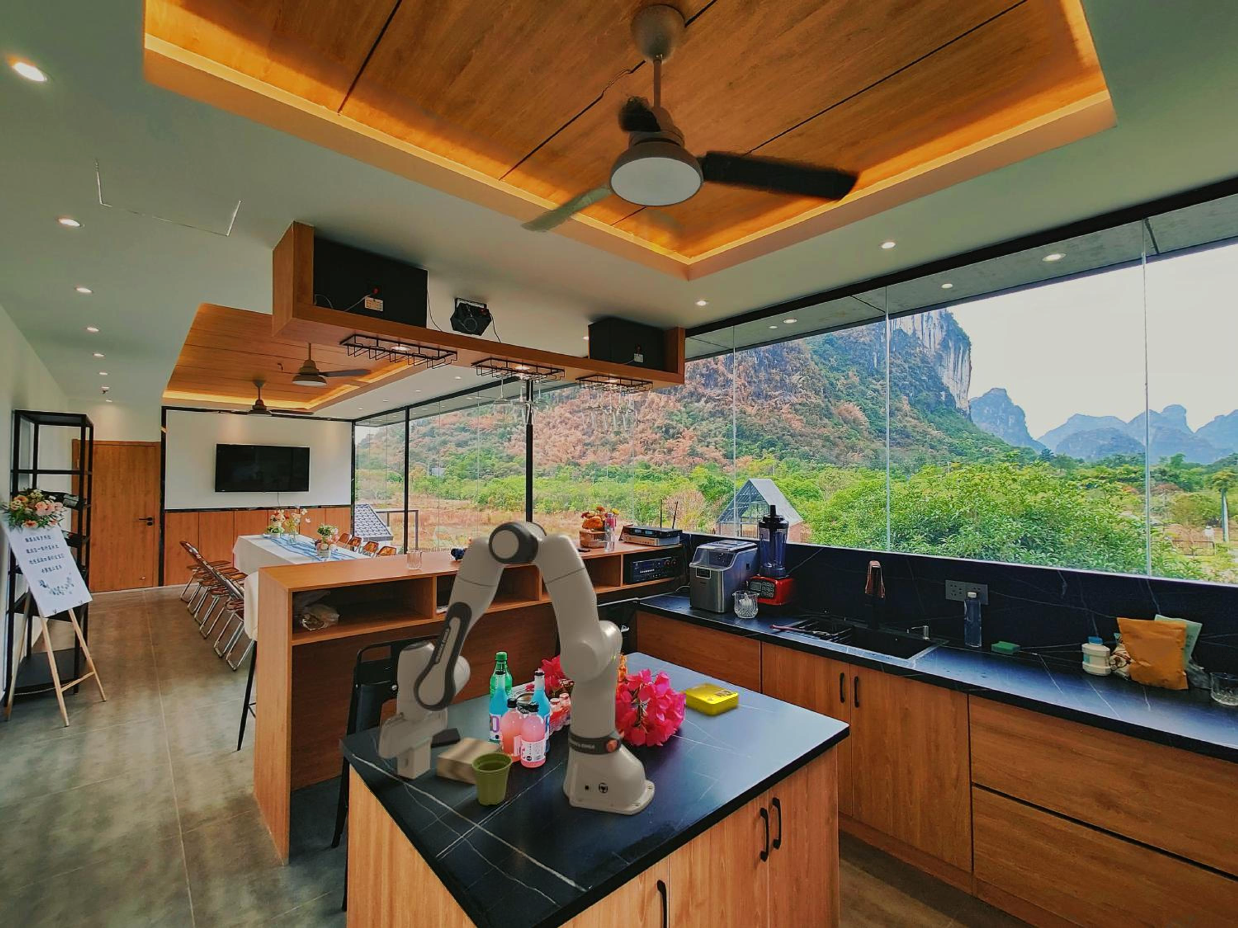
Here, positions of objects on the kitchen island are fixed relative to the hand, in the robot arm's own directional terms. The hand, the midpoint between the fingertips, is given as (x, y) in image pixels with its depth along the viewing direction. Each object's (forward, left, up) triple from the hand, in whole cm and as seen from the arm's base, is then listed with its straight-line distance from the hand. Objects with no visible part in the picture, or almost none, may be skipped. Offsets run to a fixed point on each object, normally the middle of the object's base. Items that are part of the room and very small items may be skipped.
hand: (414, 760), depth 144 cm
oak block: (-12, -8, -3) cm, 15 cm away
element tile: (-56, -78, -4) cm, 96 cm away
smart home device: (+10, -13, -4) cm, 17 cm away
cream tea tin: (0, 0, -3) cm, 3 cm away
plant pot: (-26, +1, -3) cm, 26 cm away
